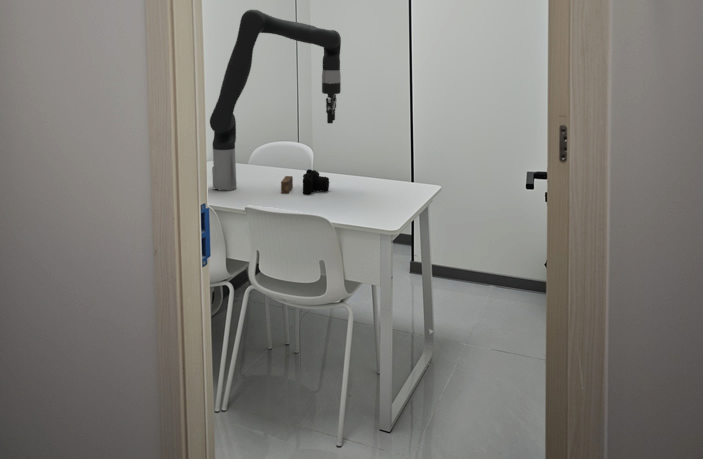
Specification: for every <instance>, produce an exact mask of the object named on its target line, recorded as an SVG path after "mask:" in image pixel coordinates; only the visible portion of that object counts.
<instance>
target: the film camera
mask: <svg viewBox="0 0 703 459" xmlns="http://www.w3.org/2000/svg"><path fill="white" fill-rule="evenodd" d="M305 171H306V173H304V174H303V175H302V177H303V178H302V194H303V195H304V196H309V195H312V194H313V193H316V192H328V191H329V189H330V178H329V177H327V176H320V172H319V171H317V170H316V169H314V170H312V169H307V170H305Z"/></svg>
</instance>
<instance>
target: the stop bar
mask: <svg viewBox="0 0 703 459" xmlns="http://www.w3.org/2000/svg"><path fill="white" fill-rule="evenodd" d="M293 179H294V178H293V176H292V175H289V176H288V175H285V176H284V178H283V179H281V182H280V191H281V192H280V193H281V194H282V195H283V194H284V195H285V194H286V195H288V194H290V193H291V191H292V189H293V186H294V184H293Z"/></svg>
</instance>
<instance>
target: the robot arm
mask: <svg viewBox="0 0 703 459" xmlns="http://www.w3.org/2000/svg"><path fill="white" fill-rule="evenodd" d="M260 34H270V35H271V34H272V35H276V36H281V37H284V38H287V39H290V40H293V41H297V42H301V43H305V44H310V45H315V46H317V47H322V48H323V57H322V71H321V72H322V74H321V92H322V94H324V95H327V97H326V98H325V108H326V111H325V113H326V114H327V115H326V116H327V117H326V118H327V119H326V123H327V124H333V123H334V121H335V120H336V109H337V95H338V94H341V89H342V88H341V86H342V85H341V83H342V82H341V79H342V78H341V77H342V76H341V59H340V58H341V56H340V54H341V48H342V47H341V44H342V38H341V35H340V33H339V31H336V30H335V29H325V28H319V27H317V26H315V25H311V24H306V23H304V22H303V23H302V22H297V21H291V20H285V19H281V18H278V17H274V16H272V15H269V14H267V13H264V12H262V11H260V10H259V9H248V10H246V11H245V12H244V13H243V14H242V15H241V19H240V22H239V28H238V32H237V36H236V41H235V44H234V46H233V50H232V52H231V54H230V58H229V59H228V62H227V66H226V70H225V72H224V75H223V79H222V82H221V86H220V92H219V95H218V99H217V102H216V103H215V106H214V109H213V110H212V113H211V115H210V117H209V118H210V119H209V125H210V129H211V130H212V131H213V140H212V158H213V159H212V161H213V166H212V168H211V170H212V171H211V172H212V173H211V174H212V189H213V188H215V189H220V190H219V191H222V190H227V191H234V190H235V189H237V166H236V165H237V164H236V160H237V159H236V142H237V140H236V139H237V124H236V123H237V121H236V117H235V115H234V112H235V107H236V105H237V102H238V100H239V98H240V96H241V94H242V93H243V92H244V89H245V88H246V85H247V82H248V78H249V76H250V72H251V69H252V64H253V53H254V47H255V45H256V42H257V39H258V37H259V35H260ZM215 189H214V190H215ZM233 189H234V190H233Z"/></svg>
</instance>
